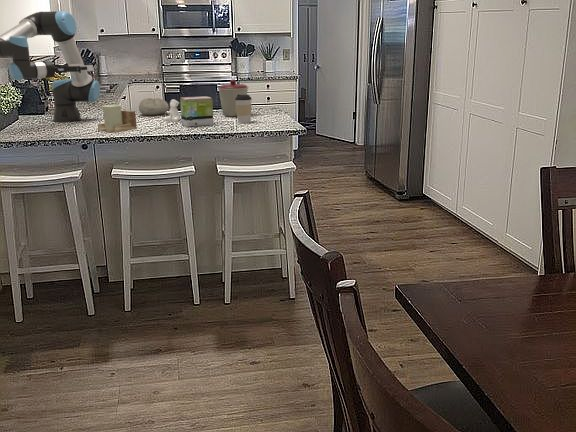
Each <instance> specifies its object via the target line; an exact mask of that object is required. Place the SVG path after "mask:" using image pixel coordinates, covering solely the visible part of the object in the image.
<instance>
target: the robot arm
mask: <svg viewBox="0 0 576 432" xmlns="http://www.w3.org/2000/svg"><path fill="white" fill-rule="evenodd" d="M76 32H77V23H76V20H75V17H74V16H73V15H72V13H70V12H68V11H62V10H57V11H56V10H55V11H53V10H52V11H36V12H33V13H31V14H30V15H28V16H25V17H24V18H22V19H21V20H20V21H19V22H18V24H16V25H15V26H13V27H11V28H10V29H9V30H7V31H5V32H3V33H1V34H0V58H12V62H10V63H9V64H8V74H9V76H10V78H11V79H12V80H22V81H23V80H31V79H32V80H33V79H38V80H41V79H45V78H47V79H48V78H54V77H55V74H63V73H69V74H70V75H71V77H70V78H65V79H58V80H54V81H52V83H51V90H52V95H53V102H54V110H53V111H54V112H53V117H52V118H53V122H58V123H65V122H77V121H80V120H81V119H82V115H81V113H80V111H79V109H78V107H77V102H78V103H81V102H82V103H83V102H86V103H87V102H88V103H93V102H94V103H95V102H97V101H98V100H99V98H100V94H101V86H100V83H99V81H98V80H94V79H93V77H92V75H90V74H89V73H88V72H93V71H94V65H93V64H87V65H85V63H84V60H83V58H82V56H81V53H80V50H79V48H78V46H77V43H76V41H75V36H76ZM36 36H51V38H52V40H53V42H55V43H57V44H58V46H59V49H60V51H61V54H62V57H63V59H64V61H65V64H54V62H52V61H50V60H49V61H48V60H47V61H32V62H31V56H30V50H29V43H28V39H31V38H35V37H36Z"/></svg>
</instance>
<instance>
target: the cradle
mask: <svg viewBox="0 0 576 432" xmlns="http://www.w3.org/2000/svg"><path fill="white" fill-rule="evenodd" d="M121 114H122V124H123V125H119V126H114V129H113V130H109V129H105V123H98V124H97V131H98V132H99V131H100V132H107V133H115V134H116V133H120V132H126V131H132V130H136V129H138V127H137V117H136V111H134V110H126V109H125V110H124V109H121Z"/></svg>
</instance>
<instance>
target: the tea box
mask: <svg viewBox="0 0 576 432" xmlns="http://www.w3.org/2000/svg"><path fill="white" fill-rule="evenodd" d="M213 101H214V100H213V97H210V96H207V95H205V96H201V95H200V96H186V97H185V96H184V97H183V96H182V97H179V105H180V121H181V123H180V124H181V125H182V126H185V127H186V128H188V127H189V128H190V127H201V126H213V125H214V107H213V106H214V105H213V103H214V102H213Z"/></svg>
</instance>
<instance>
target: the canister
mask: <svg viewBox="0 0 576 432" xmlns="http://www.w3.org/2000/svg"><path fill="white" fill-rule="evenodd" d="M249 88H250V87H249V86H247V85H246V84H244V83H237V80H236V79H232V78H231V79H230V81H229V83H227V84H221V85H220V86H218V87H217V90H218V93H219V99H220V106H221V111H222V114H223V115H224V116H225V117H228V118H229V117H230V118H231V117H232V118H234V117H236V118H238V116H237V110H236V100H235V99H236V97H237V95H238V94H239V95H248V94H249V93H248V92H249Z"/></svg>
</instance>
